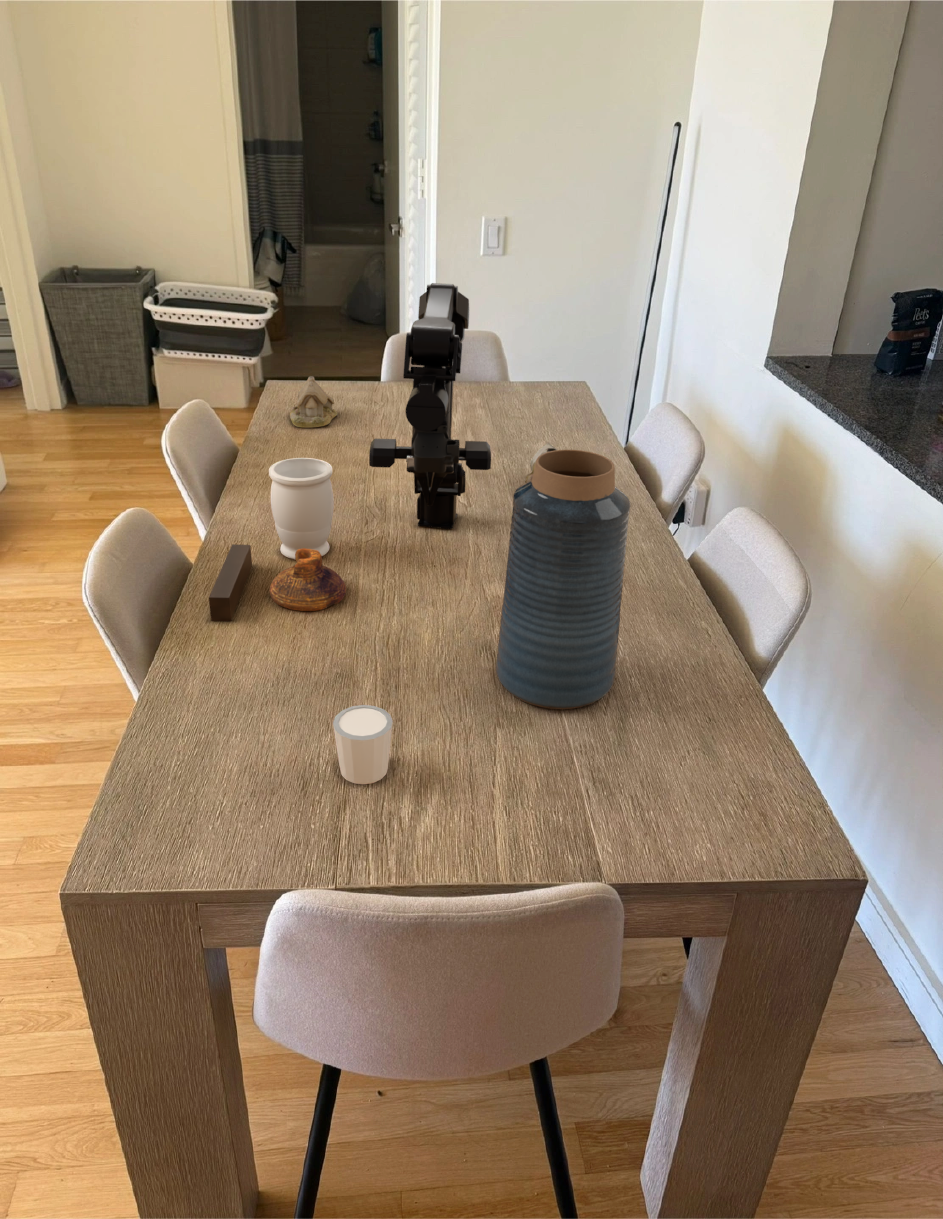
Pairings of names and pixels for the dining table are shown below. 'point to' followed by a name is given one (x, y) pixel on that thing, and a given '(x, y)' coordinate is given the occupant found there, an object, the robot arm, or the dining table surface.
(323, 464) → the jar
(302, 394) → the ceramic model
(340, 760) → the white cup
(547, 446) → the ceramic sculpture
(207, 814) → the dining table surface
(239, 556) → the bar
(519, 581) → the vase
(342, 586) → the brown clay pot
